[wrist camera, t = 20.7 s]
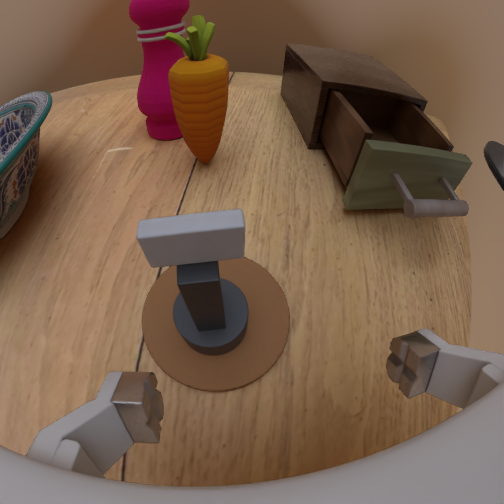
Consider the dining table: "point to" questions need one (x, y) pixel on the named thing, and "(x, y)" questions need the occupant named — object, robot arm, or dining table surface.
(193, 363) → the coaster
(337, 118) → the drawer
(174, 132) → the pepper mill
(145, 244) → the dark grey tall piece
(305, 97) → the cabinet
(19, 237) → the dining table surface
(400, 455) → the robot arm
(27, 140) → the bowl
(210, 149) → the carrot
